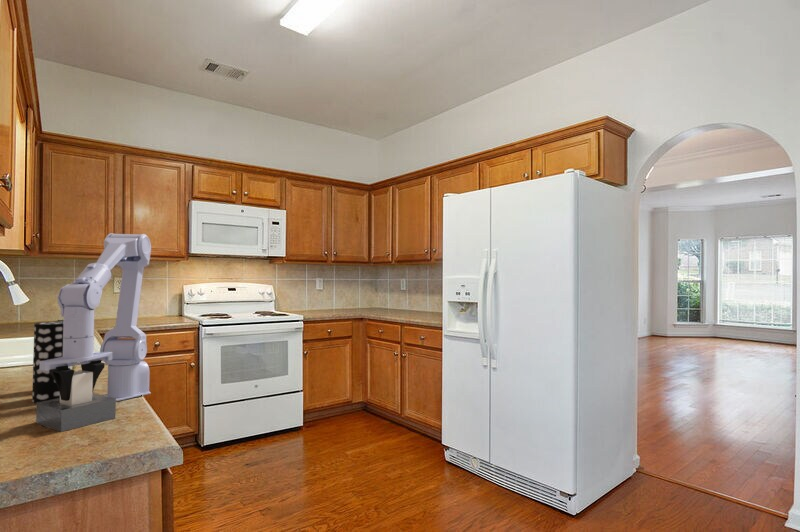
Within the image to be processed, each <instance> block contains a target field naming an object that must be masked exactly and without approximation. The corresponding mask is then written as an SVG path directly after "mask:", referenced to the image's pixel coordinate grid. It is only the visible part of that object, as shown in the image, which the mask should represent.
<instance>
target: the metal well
mask: <svg viewBox="0 0 800 532" xmlns="http://www.w3.org/2000/svg"><path fill="white" fill-rule="evenodd" d="M104 395H105V394H99V393H95V392H93V393H92V401H90V402H85V403H80V404H75V405H71V406H67V405H63V404H60V398H58V399H53V400H47V401H42V402H37V403H36V413H35V415H36V416H35V423H36V424H37V425H40V426H43V427H46V428H48V427H49V429H52V430H55V431H56V432H57V431H58V432H61V433H62V432H66V431H69V430H73V429H78V428H82V427H86V426H90V425H94V424H99V423H102V422H105V421H109V420H113V419H114V420H115V419H116V415H117V414H116V408H117V407H116V406H117V401H116V398H112V397H108V396H104Z"/></svg>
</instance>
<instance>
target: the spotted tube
mask: <svg viewBox="0 0 800 532" xmlns="http://www.w3.org/2000/svg"><path fill="white" fill-rule="evenodd" d="M57 321H58V320H57ZM57 321H45V322H44V321H43V322H35V323H34V325H33V328H34V329H33V355H32V356H33V361H32V362H33V363H32V390H31V391H32V394H31V396H32V397H31V402H32V403H34V404H37V402H42V401H47V400H53V399H58V398H60V392H59V389H58V387H57V384H56V382H55V380H54V378H53V377H52V375H51V374H50V373H49V370H48V371H42V370H39V368H40V361H44V360H50V359H54V358H59V357H63V322H64V321H58V322H57ZM68 368H70V370H72V366H69V367H68Z"/></svg>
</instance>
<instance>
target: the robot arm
mask: <svg viewBox="0 0 800 532" xmlns="http://www.w3.org/2000/svg"><path fill="white" fill-rule="evenodd" d="M151 252H152V244H151V240H150V238H149V236H148V235H147V234H146V233H141V234H136V233H134V234H133V233H131V234H130V233H128V234H127V233H112V232H111V233H108V234H107V236H106V237H105V238H104V240H103V250H102V252H101V253H100V255H99V257H98V259H97V260H96V261H95V262H92V263H88V264H87V265H86V266H85V268H84V269H83V270H82V271H81V273H79V275H78V276H77V277H76V278H75V279H74V281H73V282H72V283H67V284H66V285H64V286H62V287H61V288H60V290H59V292H58V295H57V304H58V306H59V308H60V315H61V317H63V319H64V322H63V357H59V358H54V359H50V360H44V361H40V368H39V370H42V371H48V370H49V373H50V374H51V375H52V377H53V378H54V380H55V382H56V384H57V387H58V389H59V392H60V396H61V400H65V401H68V400H69V399H70V393H71V382H72V377H73V374H74V370H70V368H68V367H69V366H75V365H77V366H80V368H81V370H83V371H89V372H93V390H92V393H94V390H95V386H96V383H97V381H98V379H99V377H100V375H101V373H102V371H103V370H104V368H105V366H107V387H106V388H107V389H106V390H107V392H106V393H107V394H106V393H105V394H103V395H104V396H108V397H112V398H116V402H119V401H124V400H128V399H133V398H137V397H142V396H146V395H150V394H152V393H151V391H150V373H151V372H150V367H149V364H148V363H147V362H146V361H145V360H144V359H145V358H146V356H147V353H148V345H147V334H146V333H145V332H143V330H141V329H140V328H139V327H137V324H138V316H139V308H140V301H141V292H142V284H143V275H144V270H145V269H144V268H145V267H147V266H149V265H150V260H151ZM115 266H118V267H120V268H121V269H122V275H121V282H120V290H119V296H118V303H117V310H116V318H115V319H116V320H115V326H114V327H113V328H111V329H109V331H107V332H105V334H104V337H103V339H102V340H103V341H102V342H101V345H100V348H99V349H100V350H99V352H94V343H95V342H94V341H95V309H96V308H97V307H99V306H100V302H101V298H102V295H103V289H104V288H105V286H107V284H108V282H110V280H111V278H112V272H111V271H112V270H113V268H114V267H115ZM73 362H77V363H73ZM139 392H140V393H139ZM141 395H142V396H141Z"/></svg>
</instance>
